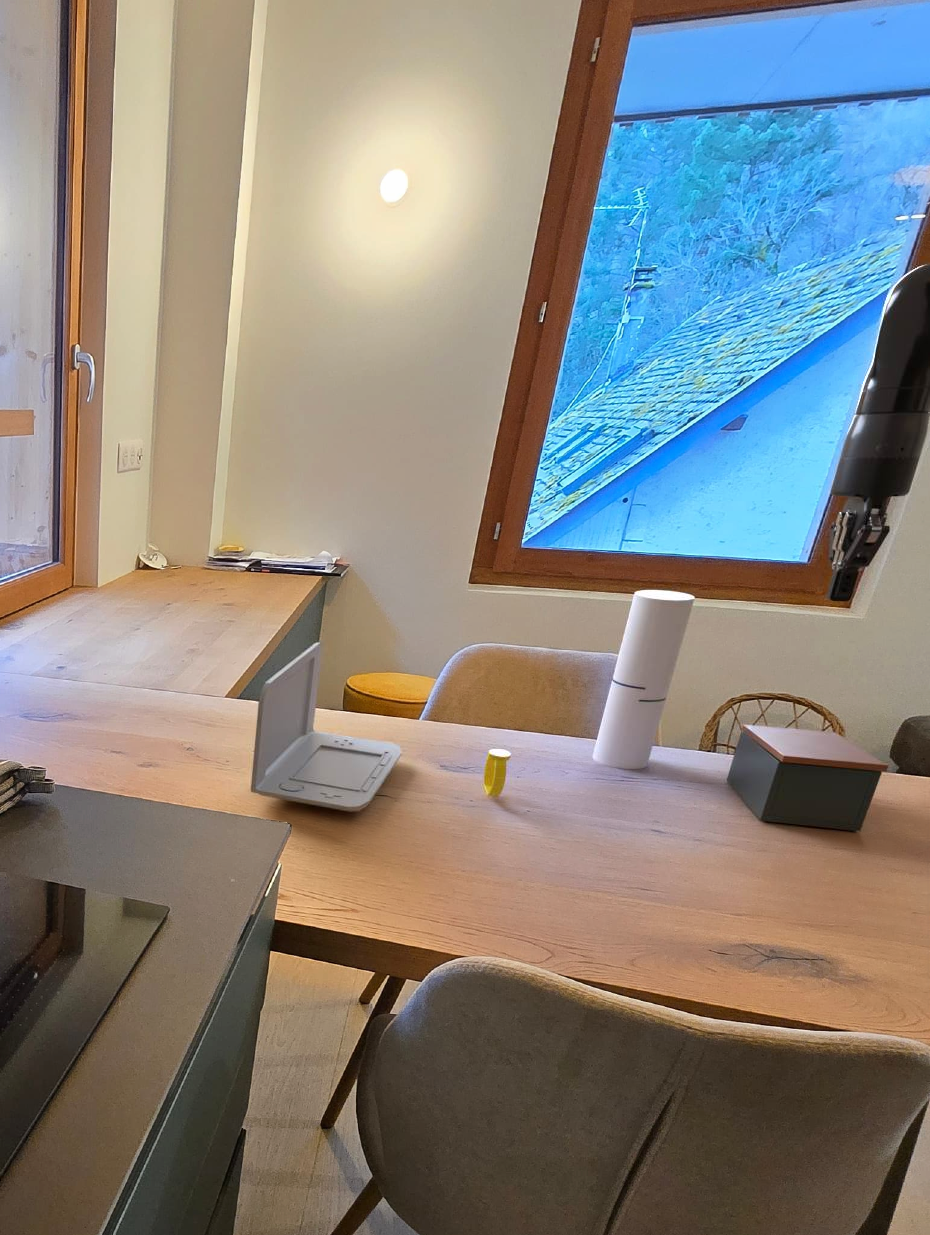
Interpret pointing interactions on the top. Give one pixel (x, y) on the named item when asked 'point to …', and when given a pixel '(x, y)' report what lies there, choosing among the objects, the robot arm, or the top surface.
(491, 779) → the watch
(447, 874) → the top surface
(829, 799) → the lidded box
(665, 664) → the cylindrical container
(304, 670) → the game console
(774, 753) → the panel
